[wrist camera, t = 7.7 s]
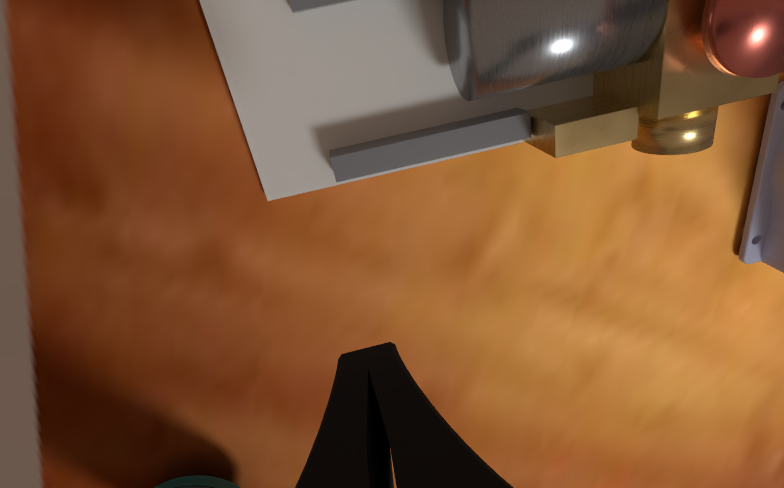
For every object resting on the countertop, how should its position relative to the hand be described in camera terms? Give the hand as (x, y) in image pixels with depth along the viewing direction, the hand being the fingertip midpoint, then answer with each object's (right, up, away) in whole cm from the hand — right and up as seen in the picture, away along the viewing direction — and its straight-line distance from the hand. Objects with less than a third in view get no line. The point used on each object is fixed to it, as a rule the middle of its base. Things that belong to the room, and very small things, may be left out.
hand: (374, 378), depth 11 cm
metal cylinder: (+5, +11, +6) cm, 14 cm away
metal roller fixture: (+4, +11, +6) cm, 14 cm away
